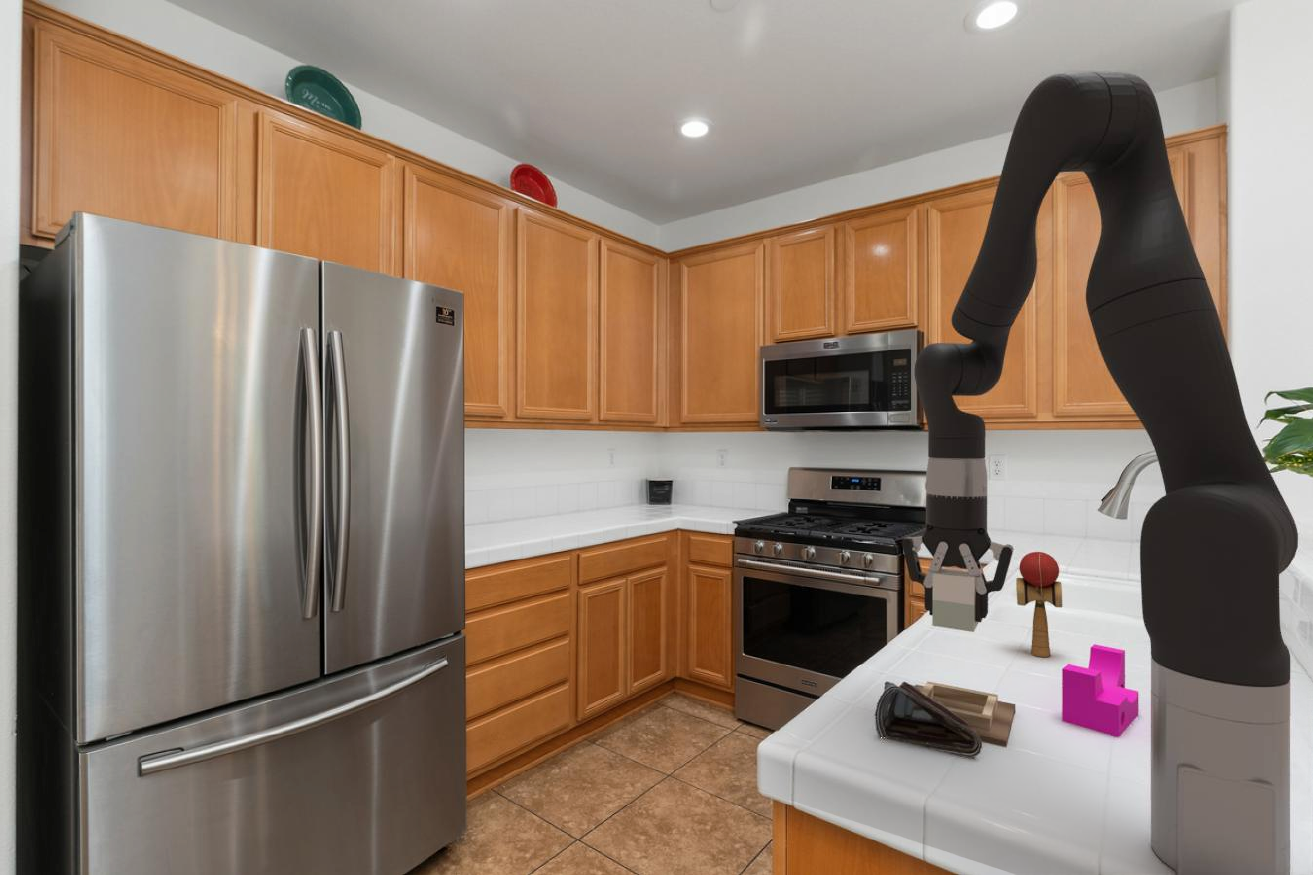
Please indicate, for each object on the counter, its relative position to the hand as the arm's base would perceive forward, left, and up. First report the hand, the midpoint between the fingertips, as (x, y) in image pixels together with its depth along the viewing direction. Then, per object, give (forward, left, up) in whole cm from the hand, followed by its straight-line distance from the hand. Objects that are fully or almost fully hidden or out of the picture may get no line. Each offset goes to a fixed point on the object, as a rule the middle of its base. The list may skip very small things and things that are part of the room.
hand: (955, 616), depth 87 cm
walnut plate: (0, 0, -14) cm, 14 cm away
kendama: (+36, -8, -14) cm, 39 cm away
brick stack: (0, 0, -1) cm, 1 cm away
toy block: (+13, -17, -14) cm, 26 cm away
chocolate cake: (-9, -2, -15) cm, 18 cm away
